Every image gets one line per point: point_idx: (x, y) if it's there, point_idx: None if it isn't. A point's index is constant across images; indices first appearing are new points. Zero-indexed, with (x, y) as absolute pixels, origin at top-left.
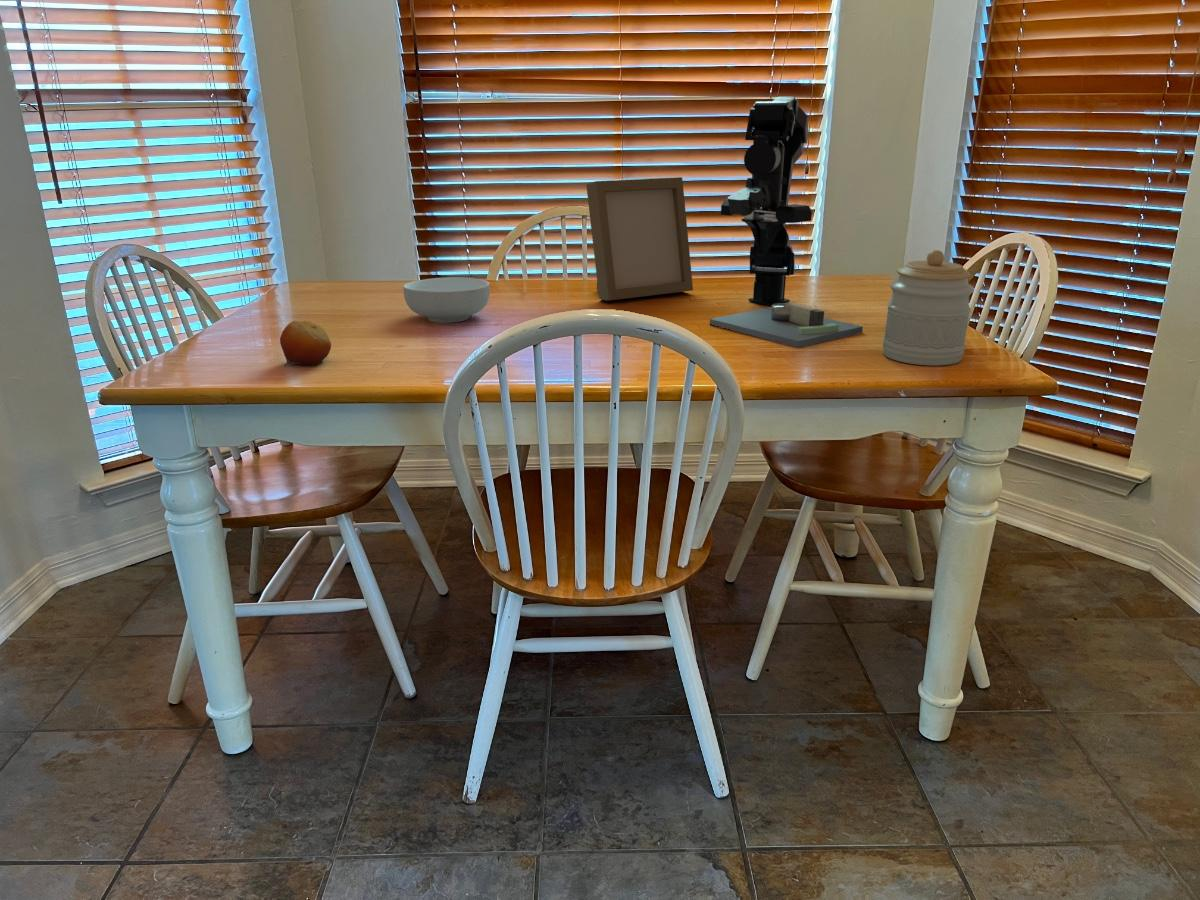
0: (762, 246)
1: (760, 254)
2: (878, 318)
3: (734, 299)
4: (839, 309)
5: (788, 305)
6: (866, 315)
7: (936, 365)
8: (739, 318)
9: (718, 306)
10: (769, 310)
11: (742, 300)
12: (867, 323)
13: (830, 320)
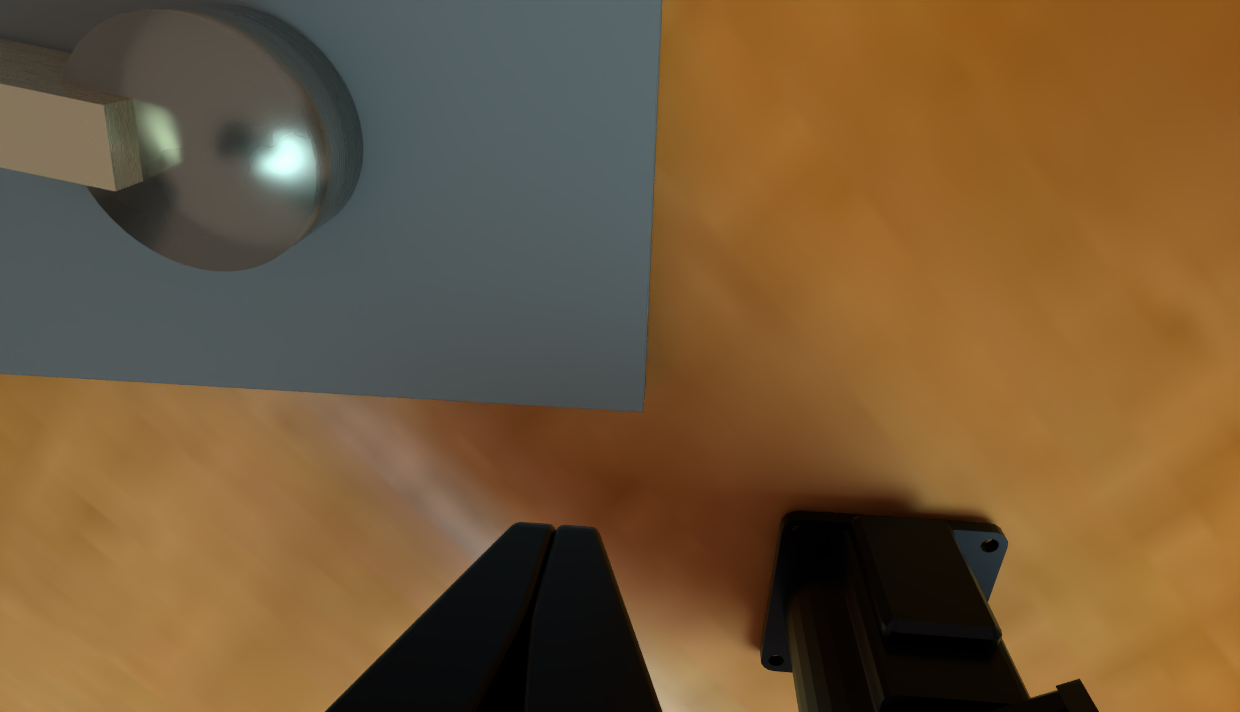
0: (405, 647)
1: (540, 534)
2: (187, 650)
3: (1129, 515)
4: None
5: (68, 93)
6: (271, 664)
7: None
8: None
9: (1114, 252)
10: (565, 288)
11: (1057, 527)
12: (110, 538)
13: (80, 348)
